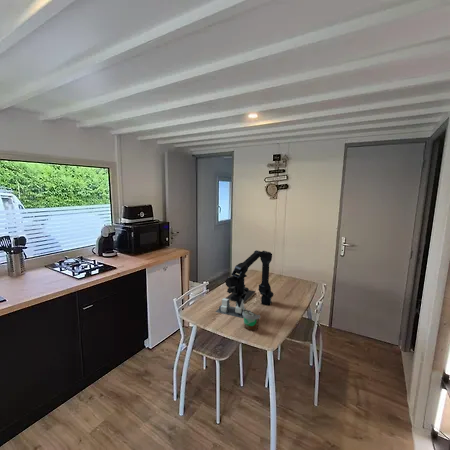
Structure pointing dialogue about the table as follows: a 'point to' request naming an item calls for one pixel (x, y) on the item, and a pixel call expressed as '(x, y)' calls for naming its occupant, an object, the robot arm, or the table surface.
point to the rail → (231, 312)
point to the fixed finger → (225, 304)
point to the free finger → (239, 309)
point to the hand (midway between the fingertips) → (240, 305)
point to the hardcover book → (245, 297)
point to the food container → (250, 320)
